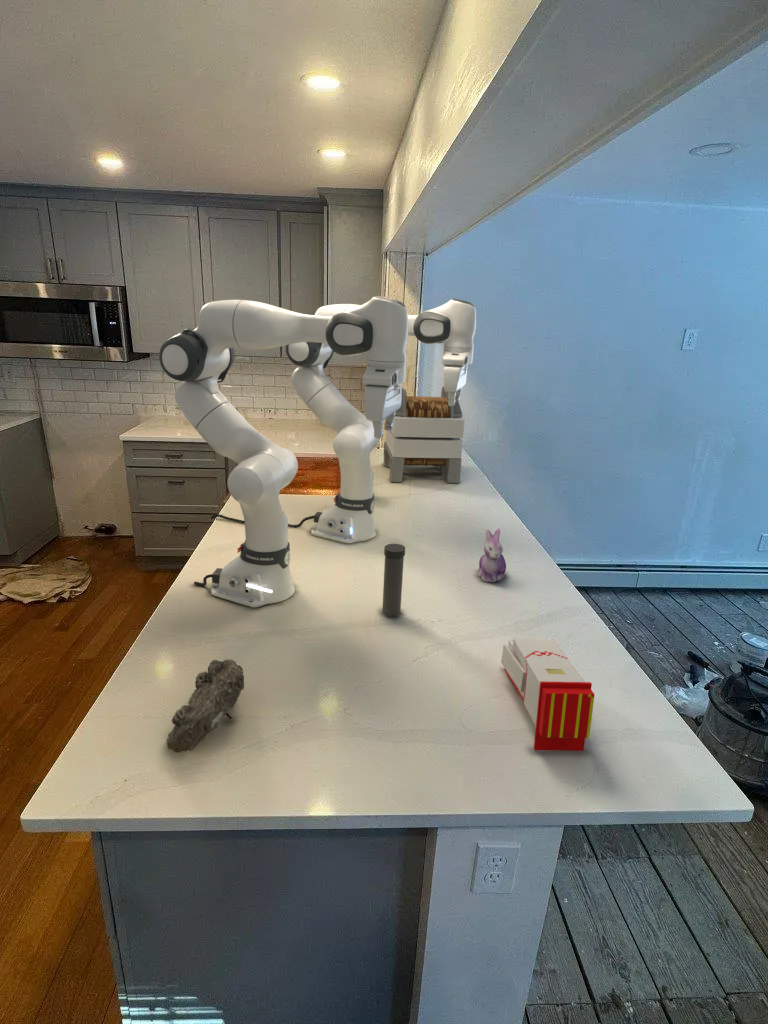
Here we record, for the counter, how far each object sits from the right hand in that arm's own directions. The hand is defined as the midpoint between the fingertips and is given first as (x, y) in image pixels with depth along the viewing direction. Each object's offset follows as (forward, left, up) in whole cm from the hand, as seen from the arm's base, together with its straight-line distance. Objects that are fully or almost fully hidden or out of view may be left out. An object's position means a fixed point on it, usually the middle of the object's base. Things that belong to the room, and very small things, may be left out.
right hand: (454, 403), depth 174 cm
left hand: (-9, -49, -1) cm, 49 cm away
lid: (-5, -48, -30) cm, 57 cm away
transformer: (-27, +86, -48) cm, 102 cm away
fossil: (-26, -98, -48) cm, 112 cm away
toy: (+33, -73, -48) cm, 93 cm away
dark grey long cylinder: (-5, -48, -48) cm, 68 cm away
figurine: (+18, -17, -48) cm, 54 cm away
